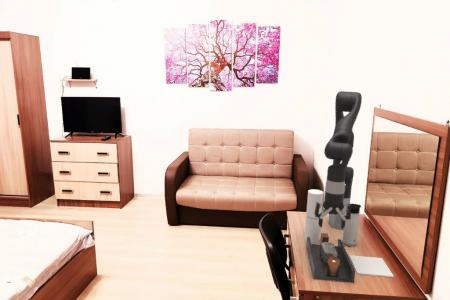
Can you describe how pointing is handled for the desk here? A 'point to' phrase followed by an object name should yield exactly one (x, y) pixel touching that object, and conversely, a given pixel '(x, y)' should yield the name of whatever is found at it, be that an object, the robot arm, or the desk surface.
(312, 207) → the cylindrical container
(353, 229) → the travel mug
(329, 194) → the robot arm
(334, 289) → the desk surface
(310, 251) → the dark grey tray
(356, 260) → the white mat
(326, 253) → the grey box
